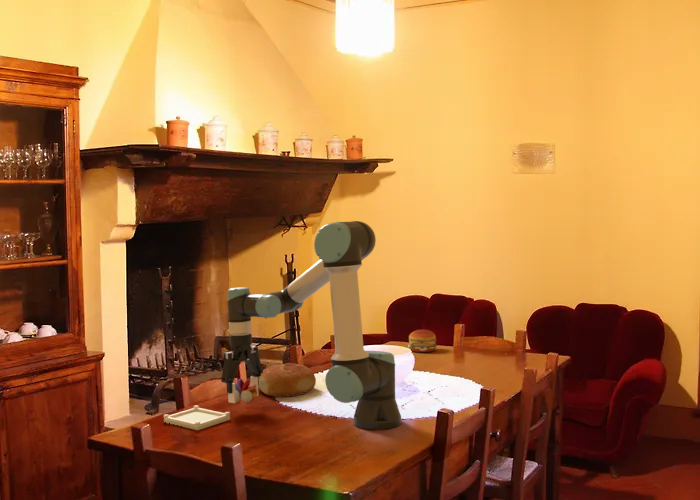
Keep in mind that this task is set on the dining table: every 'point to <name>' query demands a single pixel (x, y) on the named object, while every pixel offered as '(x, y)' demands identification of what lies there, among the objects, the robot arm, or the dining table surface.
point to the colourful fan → (245, 391)
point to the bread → (286, 380)
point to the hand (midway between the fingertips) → (243, 399)
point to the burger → (422, 341)
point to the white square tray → (197, 418)
